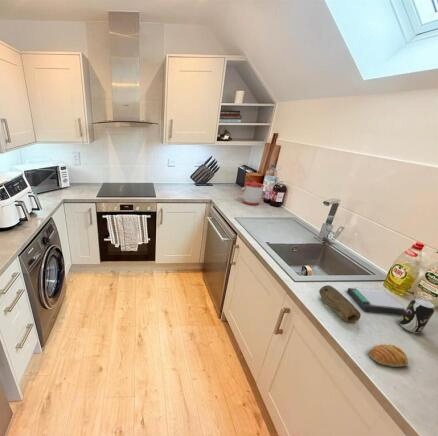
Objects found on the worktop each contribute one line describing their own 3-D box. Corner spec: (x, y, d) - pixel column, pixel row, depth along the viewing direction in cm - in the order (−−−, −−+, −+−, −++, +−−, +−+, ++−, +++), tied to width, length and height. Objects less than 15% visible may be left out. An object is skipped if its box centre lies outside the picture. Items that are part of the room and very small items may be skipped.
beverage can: (412, 335, 83) (428, 309, 78) (393, 322, 88) (408, 297, 83) (425, 333, 84) (442, 307, 79) (406, 320, 89) (421, 295, 84)
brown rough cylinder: (313, 296, 100) (318, 284, 98) (328, 295, 101) (333, 283, 98) (343, 325, 87) (349, 311, 84) (360, 323, 87) (367, 310, 85)
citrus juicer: (238, 199, 217) (242, 178, 209) (258, 201, 213) (263, 179, 205) (240, 205, 203) (244, 182, 195) (261, 207, 199) (266, 184, 191)
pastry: (382, 370, 71) (387, 362, 70) (361, 350, 77) (365, 342, 76) (409, 366, 72) (414, 358, 71) (385, 347, 79) (390, 339, 77)
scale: (382, 295, 101) (385, 290, 100) (403, 315, 91) (407, 309, 90) (346, 291, 103) (349, 286, 102) (363, 310, 93) (366, 304, 92)
